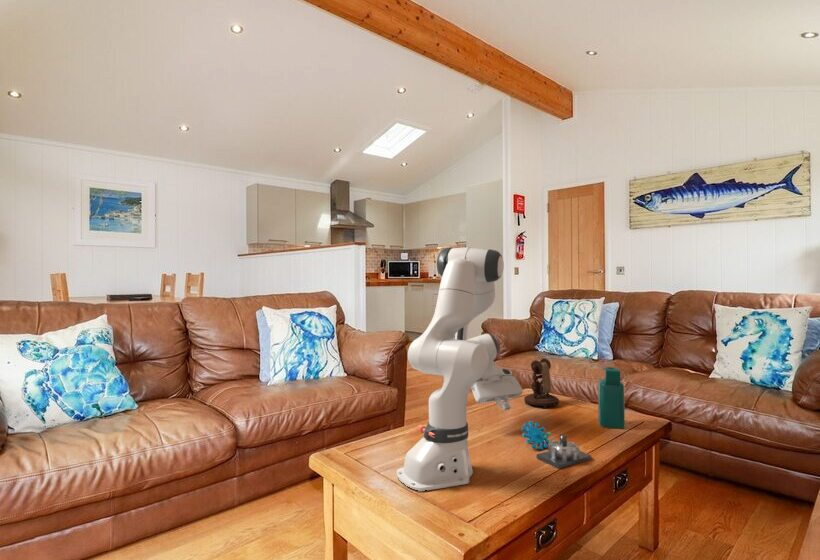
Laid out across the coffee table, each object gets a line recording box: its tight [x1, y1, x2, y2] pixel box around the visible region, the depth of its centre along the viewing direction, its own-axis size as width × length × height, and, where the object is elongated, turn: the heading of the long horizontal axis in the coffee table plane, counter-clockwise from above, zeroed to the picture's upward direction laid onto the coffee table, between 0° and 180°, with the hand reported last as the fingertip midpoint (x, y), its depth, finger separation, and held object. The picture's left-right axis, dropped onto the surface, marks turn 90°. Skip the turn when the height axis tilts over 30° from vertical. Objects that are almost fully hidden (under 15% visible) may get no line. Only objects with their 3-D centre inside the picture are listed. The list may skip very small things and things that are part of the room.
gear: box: [521, 420, 552, 451], centre depth 150 cm, size 11×6×10 cm
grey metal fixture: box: [536, 434, 592, 470], centre depth 138 cm, size 14×9×7 cm, turn 118°
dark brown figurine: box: [523, 358, 560, 410], centre depth 196 cm, size 15×15×20 cm
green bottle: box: [597, 366, 626, 429], centre depth 167 cm, size 10×8×22 cm
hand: (507, 409), depth 161 cm, fingers closed
